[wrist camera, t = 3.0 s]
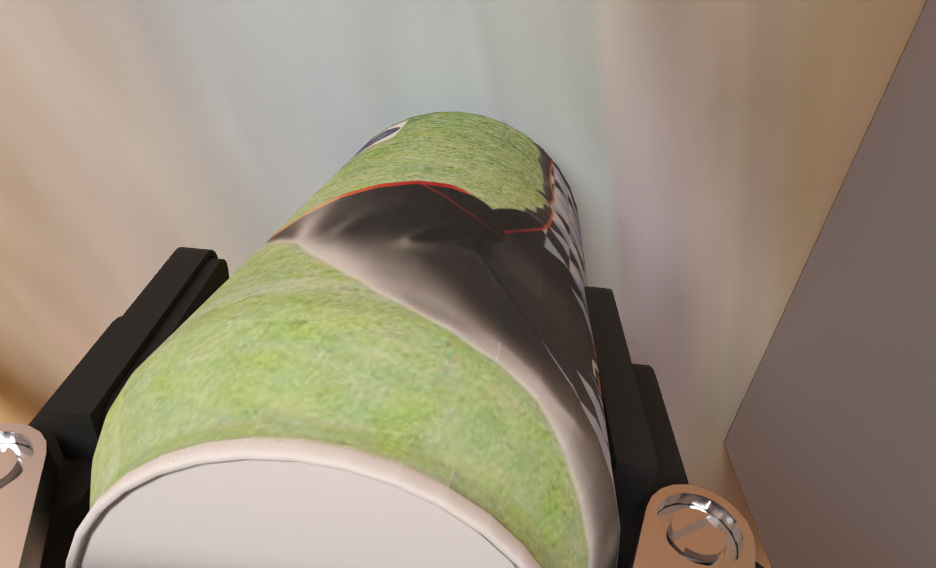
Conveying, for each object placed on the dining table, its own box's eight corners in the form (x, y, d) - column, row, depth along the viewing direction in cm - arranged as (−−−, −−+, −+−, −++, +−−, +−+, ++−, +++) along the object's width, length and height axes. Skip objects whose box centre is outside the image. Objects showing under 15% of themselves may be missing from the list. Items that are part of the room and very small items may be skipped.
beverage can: (437, 342, 19) (371, 887, 9) (250, 151, 16) (-171, 667, 6) (627, 232, 17) (818, 802, 7) (451, -16, 13) (324, 365, 4)
